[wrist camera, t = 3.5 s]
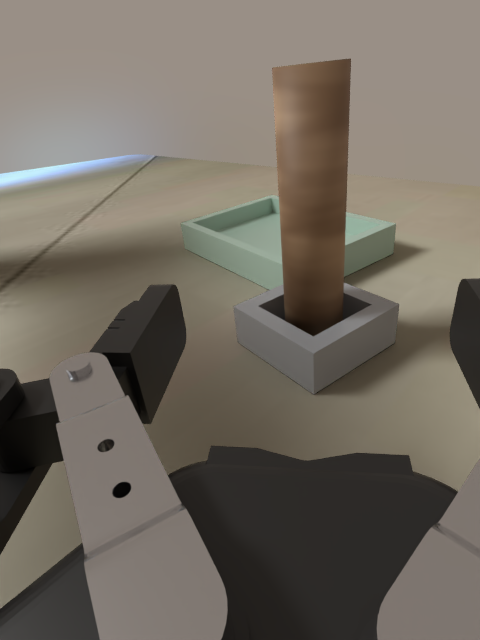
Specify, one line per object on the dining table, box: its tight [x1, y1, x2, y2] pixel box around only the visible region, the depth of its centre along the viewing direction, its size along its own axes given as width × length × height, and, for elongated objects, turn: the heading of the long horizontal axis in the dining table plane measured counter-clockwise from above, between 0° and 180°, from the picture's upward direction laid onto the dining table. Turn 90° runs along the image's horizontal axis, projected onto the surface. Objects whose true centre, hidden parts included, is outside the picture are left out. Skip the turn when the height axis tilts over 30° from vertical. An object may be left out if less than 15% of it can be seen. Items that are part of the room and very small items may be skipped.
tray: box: [181, 195, 396, 290], centre depth 36 cm, size 15×11×2 cm
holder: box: [233, 283, 399, 394], centre depth 24 cm, size 6×6×2 cm
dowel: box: [272, 59, 351, 336], centre depth 21 cm, size 3×3×14 cm
